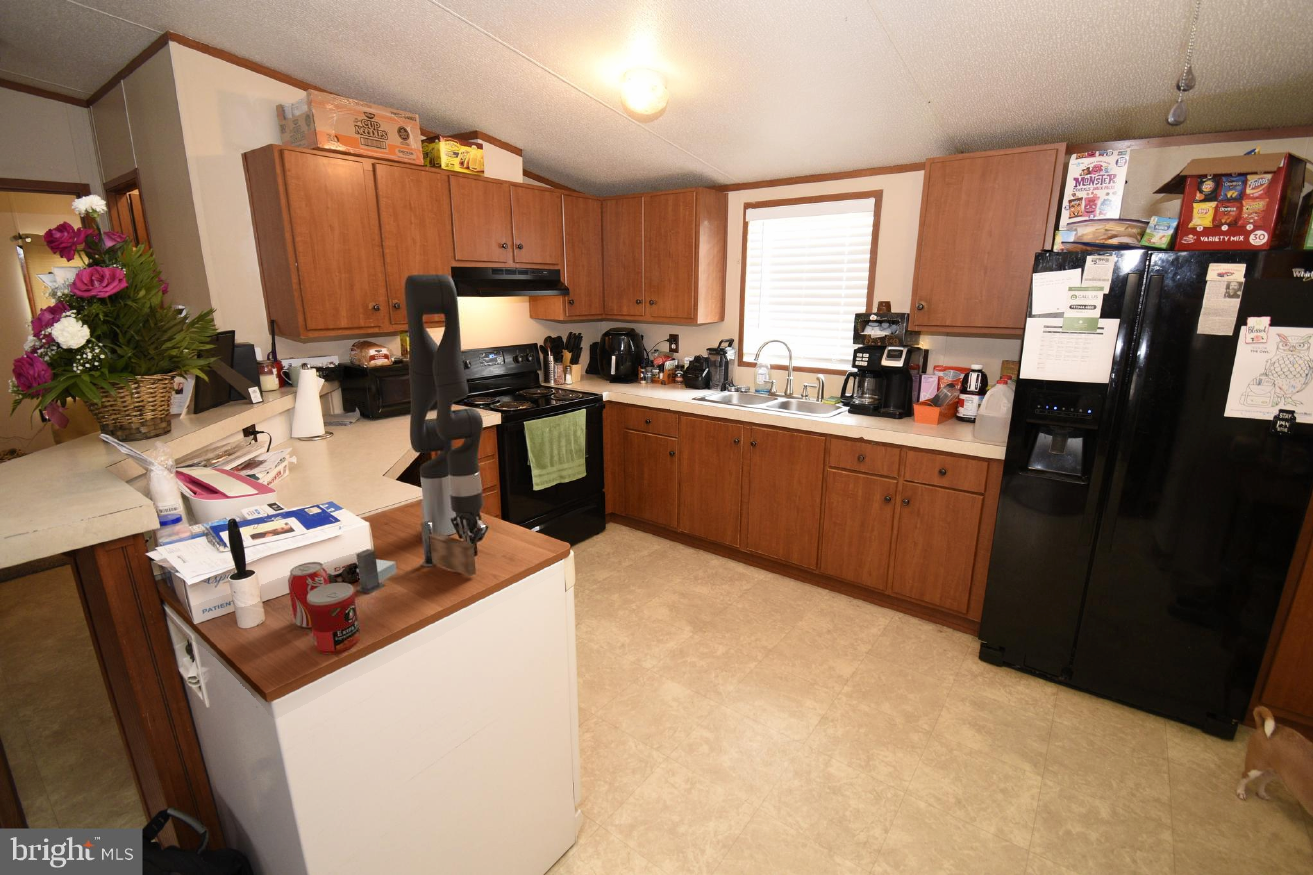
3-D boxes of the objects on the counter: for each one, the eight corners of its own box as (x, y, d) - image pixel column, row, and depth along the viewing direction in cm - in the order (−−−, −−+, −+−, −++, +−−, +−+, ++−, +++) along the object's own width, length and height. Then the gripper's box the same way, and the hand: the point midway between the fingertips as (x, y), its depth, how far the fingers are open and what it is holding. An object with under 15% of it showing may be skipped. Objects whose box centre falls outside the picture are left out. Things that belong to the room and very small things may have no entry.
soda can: (306, 634, 113) (297, 579, 110) (288, 624, 117) (278, 570, 114) (341, 617, 119) (333, 565, 116) (323, 608, 122) (315, 557, 120)
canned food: (341, 657, 105) (333, 603, 103) (304, 652, 107) (295, 599, 104) (369, 634, 113) (362, 584, 110) (334, 630, 114) (327, 580, 112)
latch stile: (356, 590, 130) (351, 554, 128) (373, 582, 134) (368, 547, 132) (367, 594, 128) (362, 557, 126) (384, 585, 132) (379, 550, 130)
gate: (431, 563, 142) (428, 535, 140) (438, 559, 143) (435, 532, 142) (469, 576, 134) (467, 547, 132) (477, 573, 136) (474, 544, 134)
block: (358, 581, 136) (356, 569, 135) (377, 570, 141) (375, 559, 140) (378, 584, 134) (376, 572, 133) (396, 573, 139) (395, 562, 139)
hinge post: (418, 565, 143) (414, 524, 140) (431, 558, 146) (427, 518, 144) (430, 568, 141) (425, 526, 139) (442, 561, 144) (438, 521, 142)
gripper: (495, 491, 137) (501, 557, 141) (463, 482, 145) (469, 545, 149) (468, 499, 131) (475, 568, 135) (436, 489, 139) (443, 555, 143)
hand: (472, 556), depth 142 cm, fingers closed
